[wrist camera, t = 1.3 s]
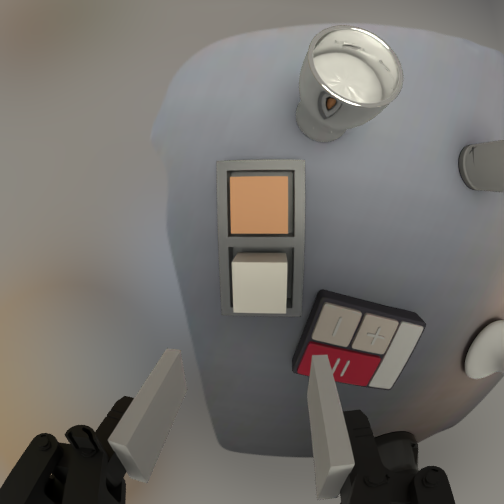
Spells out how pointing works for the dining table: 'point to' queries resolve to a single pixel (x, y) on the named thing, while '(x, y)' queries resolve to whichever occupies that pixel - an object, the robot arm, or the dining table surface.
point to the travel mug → (483, 166)
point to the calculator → (358, 340)
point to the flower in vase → (486, 352)
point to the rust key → (259, 205)
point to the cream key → (259, 282)
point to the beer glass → (345, 81)
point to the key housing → (263, 242)
